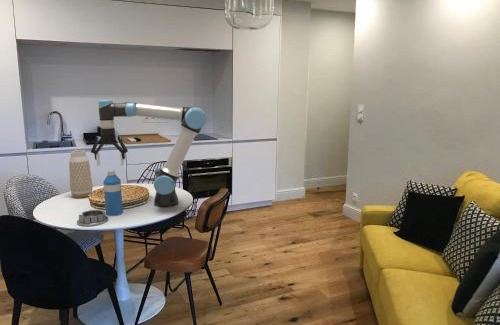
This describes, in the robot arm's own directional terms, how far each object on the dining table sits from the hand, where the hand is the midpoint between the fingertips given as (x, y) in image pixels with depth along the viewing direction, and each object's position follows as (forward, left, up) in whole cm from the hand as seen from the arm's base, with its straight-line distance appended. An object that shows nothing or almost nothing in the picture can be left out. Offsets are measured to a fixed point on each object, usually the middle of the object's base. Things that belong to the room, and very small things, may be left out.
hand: (110, 165), depth 226 cm
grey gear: (+7, +14, -29) cm, 33 cm away
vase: (+35, -37, -29) cm, 58 cm away
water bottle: (0, 0, -29) cm, 29 cm away
